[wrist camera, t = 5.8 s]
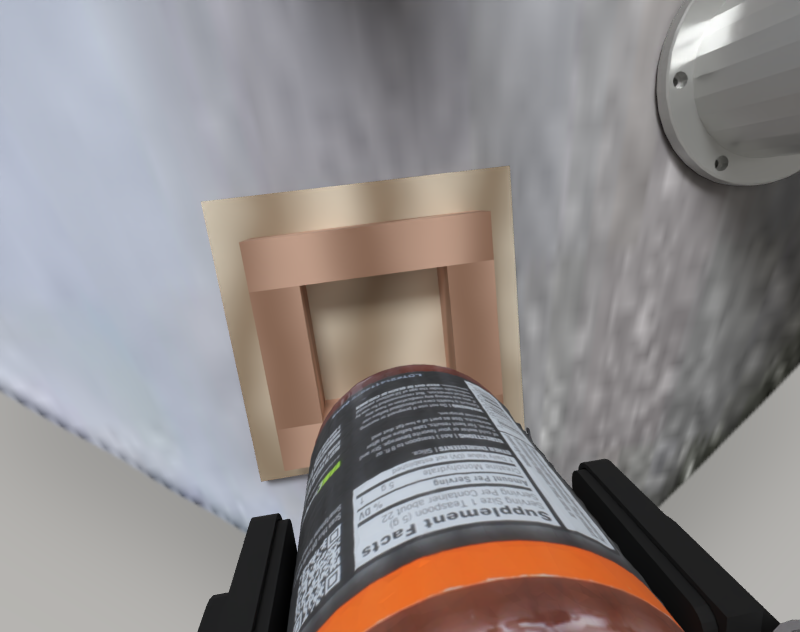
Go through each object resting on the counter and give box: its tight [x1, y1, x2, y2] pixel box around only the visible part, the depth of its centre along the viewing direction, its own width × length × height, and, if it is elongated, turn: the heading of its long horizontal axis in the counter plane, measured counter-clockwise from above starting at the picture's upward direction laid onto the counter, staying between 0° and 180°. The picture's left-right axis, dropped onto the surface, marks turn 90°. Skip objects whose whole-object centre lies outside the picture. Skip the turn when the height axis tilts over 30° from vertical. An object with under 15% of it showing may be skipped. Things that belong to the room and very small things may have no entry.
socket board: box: [201, 166, 525, 482], centre depth 27 cm, size 17×17×4 cm
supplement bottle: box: [287, 364, 684, 632], centre depth 8 cm, size 6×6×11 cm
